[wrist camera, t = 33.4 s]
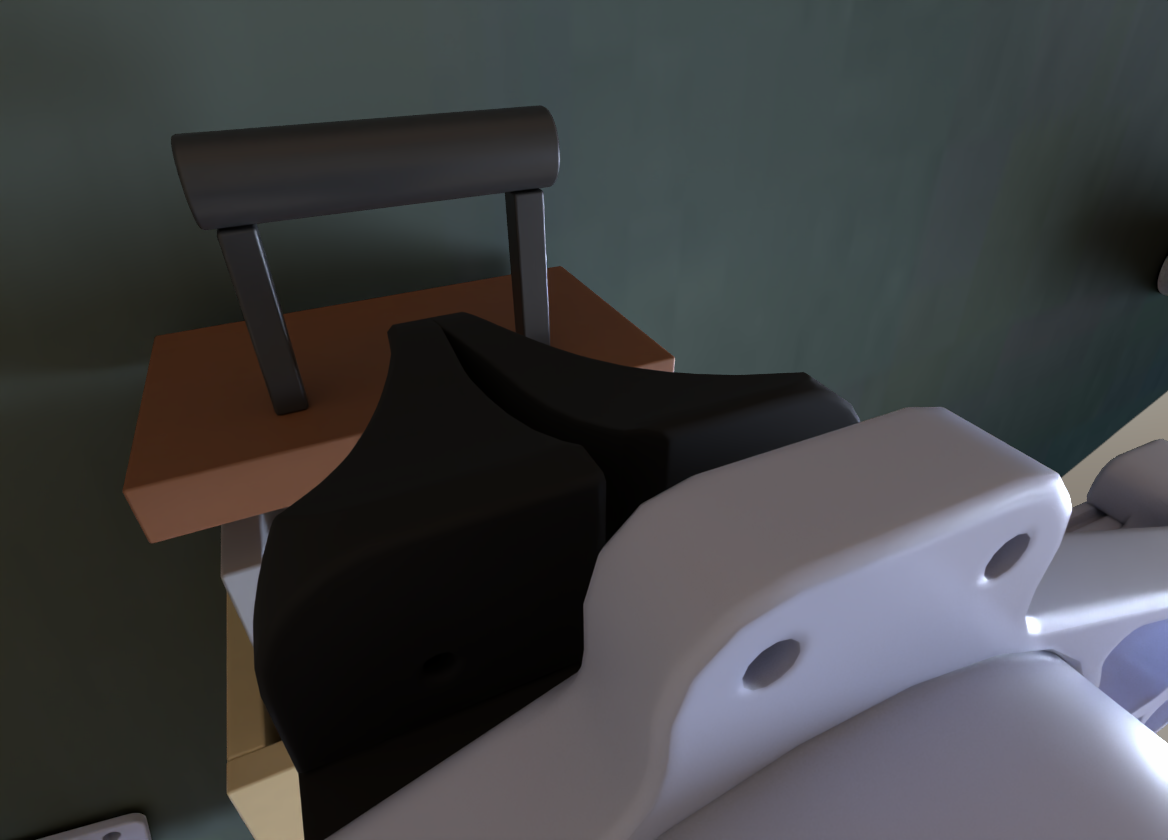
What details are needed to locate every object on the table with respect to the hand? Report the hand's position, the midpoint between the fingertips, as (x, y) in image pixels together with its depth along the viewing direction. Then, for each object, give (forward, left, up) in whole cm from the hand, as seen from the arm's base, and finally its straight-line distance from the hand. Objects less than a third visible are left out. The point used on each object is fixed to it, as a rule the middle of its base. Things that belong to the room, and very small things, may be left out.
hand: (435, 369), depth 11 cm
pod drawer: (+1, -5, -6) cm, 8 cm away
